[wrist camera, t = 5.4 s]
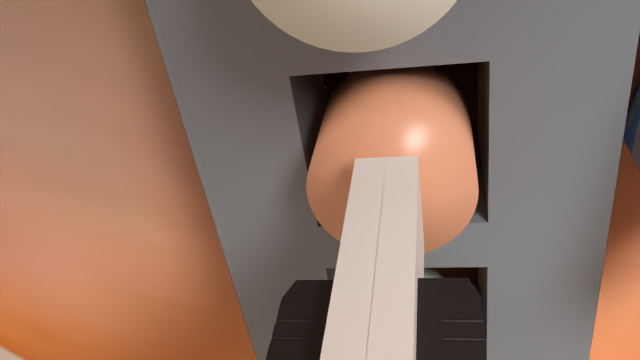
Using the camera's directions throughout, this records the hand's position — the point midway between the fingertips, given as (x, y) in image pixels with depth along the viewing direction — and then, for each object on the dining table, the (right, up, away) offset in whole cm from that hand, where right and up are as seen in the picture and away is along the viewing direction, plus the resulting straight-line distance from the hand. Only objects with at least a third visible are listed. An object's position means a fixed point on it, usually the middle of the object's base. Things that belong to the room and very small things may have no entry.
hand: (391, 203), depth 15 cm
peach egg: (+1, +3, +5) cm, 6 cm away
